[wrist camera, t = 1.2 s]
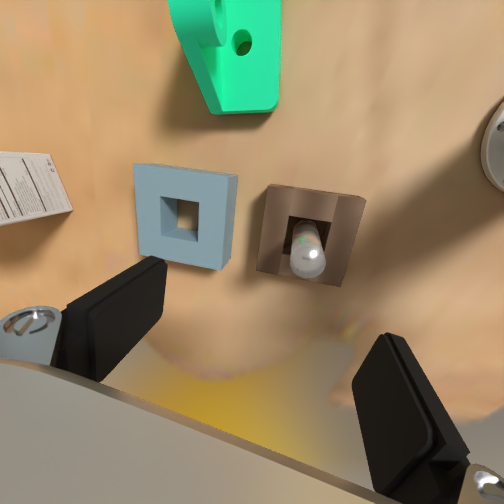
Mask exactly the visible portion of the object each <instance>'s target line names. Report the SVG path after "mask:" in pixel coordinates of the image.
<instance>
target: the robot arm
mask: <svg viewBox="0 0 504 504" xmlns="http://www.w3.org/2000/svg"><path fill="white" fill-rule="evenodd" d="M497 126H498V129H497ZM481 163H482V168H483V170H484V172H485V175H486V177H487V178H488V179H489V181H490V182H491V183H492V184H493V185H494V186H495V187H496V188H498V189H499V190H500V191H502V192H504V101H503V102H502V103H501V105H500V106H499V107H498V109H497V110H496V112H495V113H494V115H493V116H492V118H491V120H490V122H489V124H488V126H487V128H486V130H485V133H484V137H483V140H482V144H481ZM166 277H167V264H166V263H165V261H164V259H161V258H158V257H155V256H152V255H151V256H148V257H147V258H145V259H143V260H142V261H140V262H138V263H137V264H135V265H133V266H132V267H130V268H128V269H126V270H125V271H123V272H121V273H120V274H118V275H116V276H115V277H113V278H111V279H110V280H108V281H106V282H105V283H103V284H101V285H100V286H98V287H96V288H94V289H93V290H91V291H89V292H88V293H86V294H84V295H83V296H81V297H79V298H78V299H76V300H74V301H73V302H71V303H69V304H68V305H67V308H66V309H64V310H63V311H61V312H60V311H59V310H58V309H56V308H54V307H49V306H35V307H28V308H24V309H21V310H18V311H15V312H13V313H11V314H9V315H7V316H6V317H4V318H3V319H1V320H0V504H504V478H502V477H501V476H500V475H498V474H497V473H495V472H494V471H492V470H491V469H489V468H487V467H485V466H482V465H479V464H470V462H469V460H468V459H467V457H466V456H467V455H468V454H469V453H470V451H469V449H468V448H467V446H466V444H465V442H464V441H463V439H462V437H461V435H460V434H459V432H458V430H457V429H456V427H455V425H454V423H453V422H452V420H451V418H450V416H449V415H448V413H447V411H446V410H445V408H444V406H443V404H442V403H441V401H440V399H439V397H438V396H437V394H436V392H435V391H434V389H433V387H432V385H431V384H430V382H429V380H428V379H427V377H426V375H425V373H424V372H423V370H422V368H421V366H420V365H419V363H418V361H417V360H416V358H415V356H414V354H413V353H412V351H411V349H410V347H409V346H408V344H407V342H406V341H405V339H404V338H403V337H401V336H397V335H394V334H391V333H388V332H387V333H385V334H384V335H383V334H381V335H379V337H378V338H377V340H376V341H375V343H374V345H373V346H372V348H371V350H370V351H369V353H368V355H367V356H366V358H365V360H364V361H363V363H362V365H361V367H360V368H359V370H358V372H357V373H356V375H355V377H354V378H353V381H352V391H353V396H354V401H355V405H356V410H357V415H358V419H359V424H360V428H361V433H362V437H363V442H364V447H365V451H366V456H367V460H368V465H369V470H370V474H371V479H372V484H373V488H374V490H375V492H374V491H372V490H369V489H367V488H364V487H361V486H359V485H356V484H354V483H351V482H349V481H347V480H344V479H342V478H339V477H337V476H334V475H332V474H329V473H327V472H324V471H322V470H319V469H317V468H314V467H312V466H309V465H307V464H304V463H302V462H299V461H297V460H294V459H292V458H290V457H287V456H285V455H282V454H280V453H277V452H275V451H272V450H270V449H267V448H265V447H262V446H260V445H257V444H255V443H252V442H249V441H247V440H244V439H242V438H239V437H237V436H234V435H232V434H229V433H227V432H224V431H222V430H219V429H217V428H214V427H211V426H209V425H207V424H204V423H201V422H199V421H196V420H194V419H191V418H189V417H186V416H184V415H181V414H178V413H176V412H173V411H171V410H168V409H166V408H163V407H160V406H158V405H156V404H153V403H150V402H148V401H145V400H143V399H140V398H137V397H135V396H132V395H130V394H127V393H125V392H122V391H120V390H117V389H114V388H112V387H109V386H106V385H104V384H101V383H98V382H101V381H102V380H103V379H104V378H105V377H106V376H107V375H108V374H109V373H110V372H111V371H112V370H113V369H114V368H115V367H116V366H117V364H118V363H119V362H120V361H121V360H122V359H123V358H124V357H125V356H126V354H128V353H129V352H130V350H131V349H132V348H133V347H134V346H135V345H136V344H137V343H138V342H139V341H140V340H141V339H142V338H143V336H144V335H145V334H146V333H147V332H148V331H149V330H150V329H151V328H152V327H153V326H154V325H155V324H156V322H157V321H158V320H159V319H160V318H161V316H162V313H163V305H164V295H165V286H166Z"/></svg>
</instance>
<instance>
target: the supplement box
mask: <svg viewBox="0 0 504 504" xmlns="http://www.w3.org/2000/svg"><path fill="white" fill-rule="evenodd" d="M69 211H73V208H72V206H71V204H70V201H69V199H68V196H67V194H66V192H65V189H64V187H63V184H62V182H61V180H60V177H59V175H58V173H57V170H56V168H55V166H54V163H53V161H52V159H51V156H50V154H45V153H24V152H4V151H0V226H3V225H8V224H13V223H18V222H23V221H27V220H32V219H37V218H41V217H46V216H50V215H55V214H60V213H64V212H69Z"/></svg>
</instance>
